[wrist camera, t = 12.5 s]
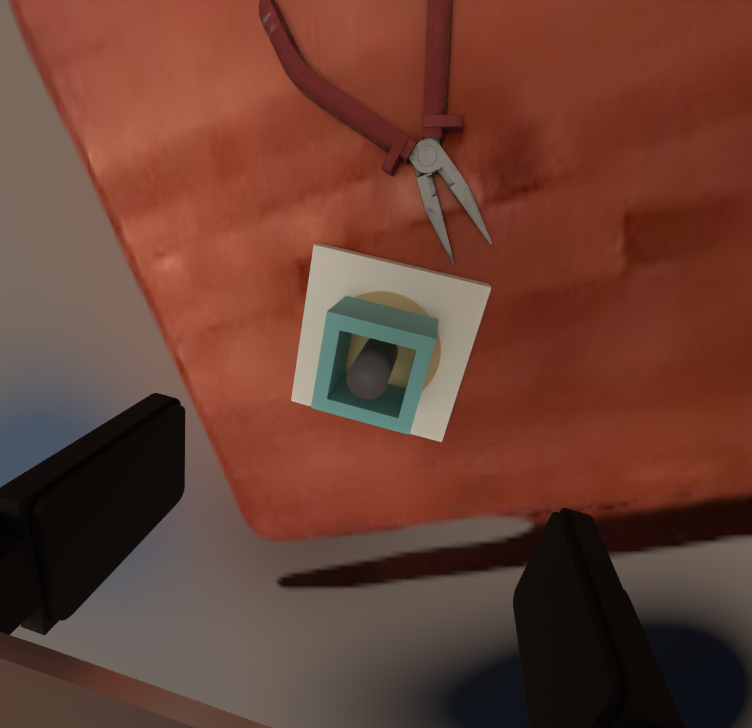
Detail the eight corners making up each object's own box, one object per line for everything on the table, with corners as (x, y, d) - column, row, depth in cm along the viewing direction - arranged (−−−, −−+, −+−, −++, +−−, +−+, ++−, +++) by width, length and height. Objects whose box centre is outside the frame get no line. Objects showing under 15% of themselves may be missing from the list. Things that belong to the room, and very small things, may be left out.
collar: (438, 318, 29) (436, 339, 25) (415, 402, 32) (409, 434, 27) (345, 295, 30) (326, 311, 25) (330, 379, 33) (310, 407, 28)
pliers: (402, 289, 31) (398, 295, 29) (261, 17, 27) (242, -2, 24) (550, 212, 28) (559, 212, 25) (416, -115, 23) (412, -153, 21)
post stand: (489, 283, 30) (502, 306, 23) (441, 433, 35) (439, 490, 27) (319, 243, 31) (280, 252, 24) (297, 393, 36) (259, 439, 28)
